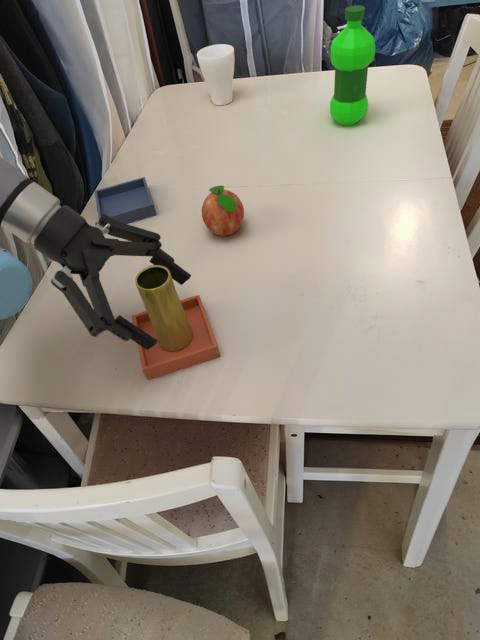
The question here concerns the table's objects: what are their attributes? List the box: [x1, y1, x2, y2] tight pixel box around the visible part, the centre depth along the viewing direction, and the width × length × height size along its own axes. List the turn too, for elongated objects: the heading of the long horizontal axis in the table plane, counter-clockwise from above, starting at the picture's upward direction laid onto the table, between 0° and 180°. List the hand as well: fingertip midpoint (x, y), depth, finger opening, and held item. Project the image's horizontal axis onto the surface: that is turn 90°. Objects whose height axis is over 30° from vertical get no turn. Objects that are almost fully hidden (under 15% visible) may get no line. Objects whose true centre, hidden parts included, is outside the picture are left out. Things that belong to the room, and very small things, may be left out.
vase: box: [134, 264, 193, 351], centre depth 69 cm, size 6×6×14 cm
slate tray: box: [94, 176, 157, 224], centre depth 101 cm, size 12×12×3 cm
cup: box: [196, 43, 236, 106], centre depth 127 cm, size 10×10×14 cm
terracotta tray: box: [131, 294, 221, 380], centre depth 74 cm, size 12×12×3 cm
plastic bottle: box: [329, 5, 376, 127], centre depth 106 cm, size 10×10×25 cm
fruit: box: [201, 185, 245, 237], centre depth 89 cm, size 9×10×10 cm
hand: (170, 311), depth 69 cm, fingers open, 13 cm apart
